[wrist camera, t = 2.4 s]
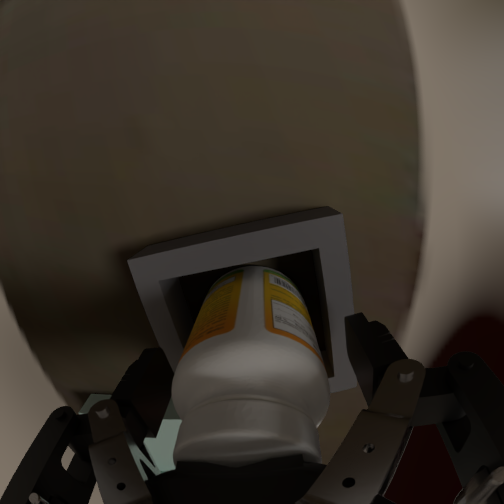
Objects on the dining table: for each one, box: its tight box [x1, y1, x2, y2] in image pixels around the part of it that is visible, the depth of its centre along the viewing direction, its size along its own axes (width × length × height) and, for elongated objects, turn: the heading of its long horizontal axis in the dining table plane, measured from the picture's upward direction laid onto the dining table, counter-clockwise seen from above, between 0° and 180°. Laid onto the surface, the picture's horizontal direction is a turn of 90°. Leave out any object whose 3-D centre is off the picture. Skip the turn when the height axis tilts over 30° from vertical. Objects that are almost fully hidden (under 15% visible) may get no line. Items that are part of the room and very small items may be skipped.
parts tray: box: [79, 394, 182, 473], centre depth 17 cm, size 11×11×2 cm
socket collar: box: [127, 206, 357, 393], centre depth 14 cm, size 9×9×3 cm
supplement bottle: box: [172, 266, 330, 467], centre depth 10 cm, size 5×5×10 cm
